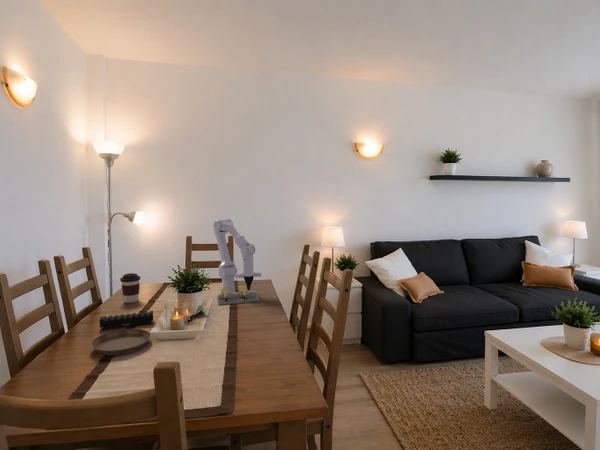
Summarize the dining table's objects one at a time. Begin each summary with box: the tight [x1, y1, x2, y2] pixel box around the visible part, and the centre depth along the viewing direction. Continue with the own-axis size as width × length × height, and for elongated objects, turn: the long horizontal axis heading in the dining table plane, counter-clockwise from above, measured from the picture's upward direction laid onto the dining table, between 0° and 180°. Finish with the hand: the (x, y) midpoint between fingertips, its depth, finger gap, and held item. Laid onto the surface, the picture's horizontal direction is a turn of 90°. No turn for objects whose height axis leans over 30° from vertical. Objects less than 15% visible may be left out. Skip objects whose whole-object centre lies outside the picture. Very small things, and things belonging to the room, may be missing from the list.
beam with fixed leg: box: [217, 287, 257, 301], centre depth 197 cm, size 8×21×5 cm, turn 105°
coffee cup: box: [119, 272, 141, 304], centre depth 194 cm, size 10×10×15 cm
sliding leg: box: [238, 285, 248, 298], centre depth 198 cm, size 8×4×5 cm, turn 15°
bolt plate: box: [216, 294, 260, 306], centre depth 197 cm, size 14×22×1 cm, turn 105°
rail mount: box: [98, 310, 154, 331], centre depth 159 cm, size 21×6×5 cm, turn 112°
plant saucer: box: [90, 328, 152, 356], centre depth 136 cm, size 21×21×3 cm
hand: (248, 289), depth 200 cm, fingers closed
